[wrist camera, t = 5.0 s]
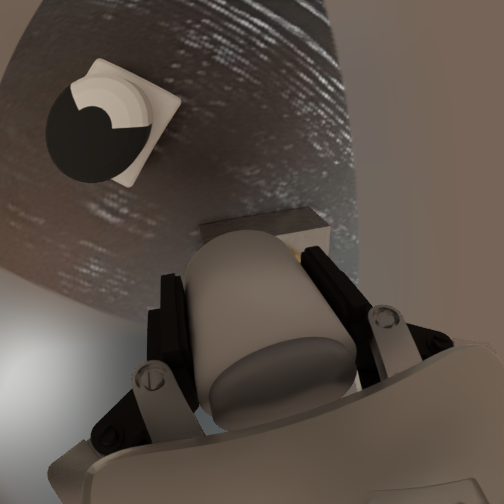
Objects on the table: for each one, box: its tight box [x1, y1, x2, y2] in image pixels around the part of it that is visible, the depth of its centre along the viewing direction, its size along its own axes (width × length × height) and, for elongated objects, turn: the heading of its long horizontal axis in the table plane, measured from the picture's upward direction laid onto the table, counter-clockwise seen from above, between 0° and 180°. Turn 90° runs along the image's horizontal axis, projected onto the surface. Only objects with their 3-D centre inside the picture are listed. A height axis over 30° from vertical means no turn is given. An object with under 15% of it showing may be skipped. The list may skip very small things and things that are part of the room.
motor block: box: [199, 207, 331, 263], centre depth 31 cm, size 15×12×6 cm
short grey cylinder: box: [184, 230, 357, 431], centre depth 10 cm, size 5×5×6 cm
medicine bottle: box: [46, 59, 181, 187], centre depth 16 cm, size 7×7×12 cm
